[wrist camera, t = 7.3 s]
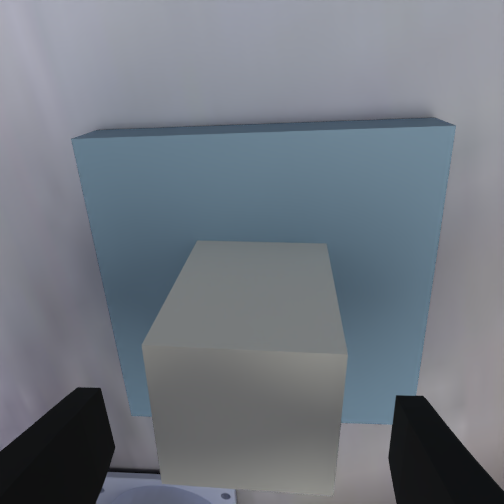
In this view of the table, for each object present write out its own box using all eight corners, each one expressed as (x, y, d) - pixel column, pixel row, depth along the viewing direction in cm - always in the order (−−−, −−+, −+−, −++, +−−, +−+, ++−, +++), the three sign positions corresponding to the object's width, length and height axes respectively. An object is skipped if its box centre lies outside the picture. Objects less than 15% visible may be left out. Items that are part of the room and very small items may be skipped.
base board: (400, 390, 19) (411, 425, 17) (146, 384, 20) (131, 415, 18) (434, 117, 14) (456, 125, 12) (97, 129, 15) (71, 139, 14)
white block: (319, 350, 16) (333, 496, 11) (204, 345, 17) (162, 483, 11) (326, 243, 14) (348, 354, 9) (197, 240, 15) (141, 345, 9)
